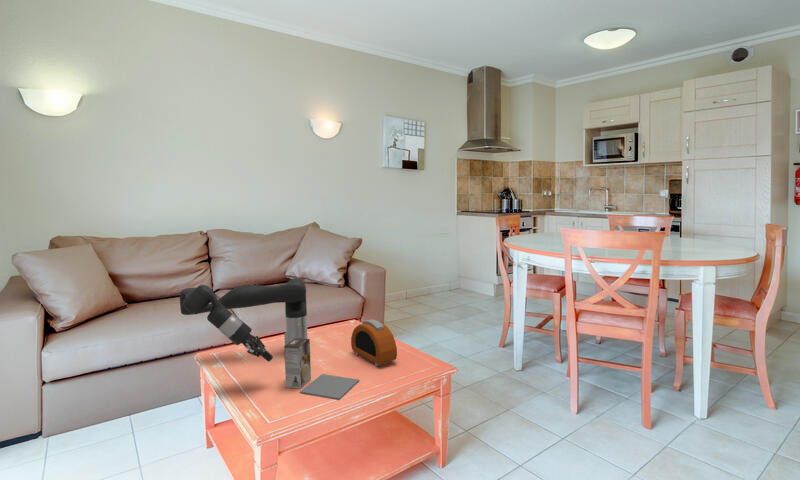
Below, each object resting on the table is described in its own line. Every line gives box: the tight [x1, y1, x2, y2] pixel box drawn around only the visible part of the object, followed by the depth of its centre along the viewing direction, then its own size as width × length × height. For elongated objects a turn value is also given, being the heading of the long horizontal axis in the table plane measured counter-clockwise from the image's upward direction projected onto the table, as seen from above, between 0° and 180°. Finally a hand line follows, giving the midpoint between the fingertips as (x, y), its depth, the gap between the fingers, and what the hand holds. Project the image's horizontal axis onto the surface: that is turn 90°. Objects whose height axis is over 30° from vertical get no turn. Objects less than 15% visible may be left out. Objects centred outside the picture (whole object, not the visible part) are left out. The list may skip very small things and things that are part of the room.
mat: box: [299, 373, 360, 401], centre depth 161 cm, size 16×16×1 cm
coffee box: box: [283, 338, 312, 390], centre depth 164 cm, size 9×6×16 cm
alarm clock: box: [350, 319, 398, 367], centre depth 188 cm, size 23×9×17 cm, turn 37°
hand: (271, 359), depth 162 cm, fingers closed
